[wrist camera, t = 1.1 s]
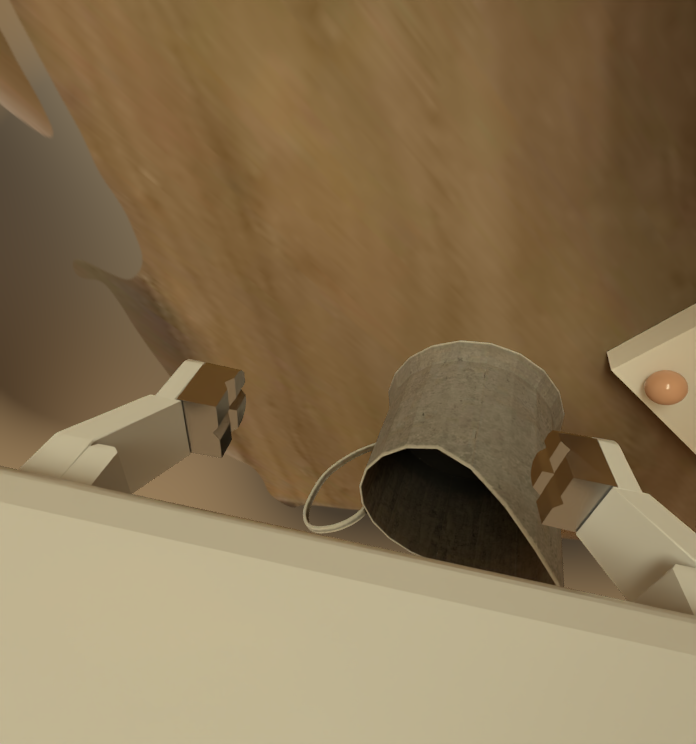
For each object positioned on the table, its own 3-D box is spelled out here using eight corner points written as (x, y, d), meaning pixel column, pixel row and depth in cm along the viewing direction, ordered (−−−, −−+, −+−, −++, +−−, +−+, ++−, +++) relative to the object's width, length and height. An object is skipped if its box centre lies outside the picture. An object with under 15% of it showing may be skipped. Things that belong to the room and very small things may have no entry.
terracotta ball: (669, 357, 41) (678, 378, 39) (691, 379, 42) (701, 401, 39) (633, 374, 44) (639, 395, 41) (654, 395, 44) (662, 417, 42)
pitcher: (575, 467, 58) (595, 667, 39) (373, 472, 73) (318, 617, 55) (545, 324, 47) (552, 504, 29) (316, 366, 63) (225, 500, 44)
